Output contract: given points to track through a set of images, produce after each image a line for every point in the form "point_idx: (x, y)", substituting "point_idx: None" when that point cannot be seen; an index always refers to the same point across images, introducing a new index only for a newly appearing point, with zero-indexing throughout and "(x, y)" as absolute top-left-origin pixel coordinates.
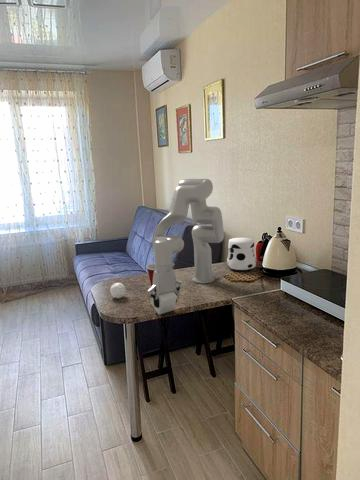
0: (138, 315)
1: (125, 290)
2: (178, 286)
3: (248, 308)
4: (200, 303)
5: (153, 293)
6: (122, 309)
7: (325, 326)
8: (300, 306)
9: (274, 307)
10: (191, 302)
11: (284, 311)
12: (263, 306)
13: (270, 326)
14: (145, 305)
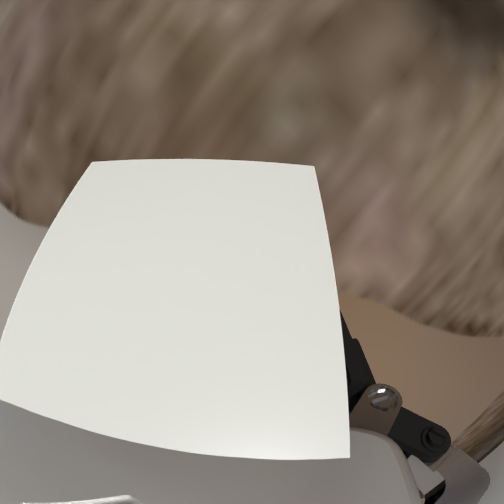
0: (26, 191)
1: None
2: (418, 481)
3: (472, 425)
4: (476, 311)
5: (14, 328)
6: (8, 33)
7: (423, 494)
8: (501, 439)
9: (489, 434)
10: (471, 263)
11: (471, 453)
12: (492, 424)
13: None
14: (152, 24)
